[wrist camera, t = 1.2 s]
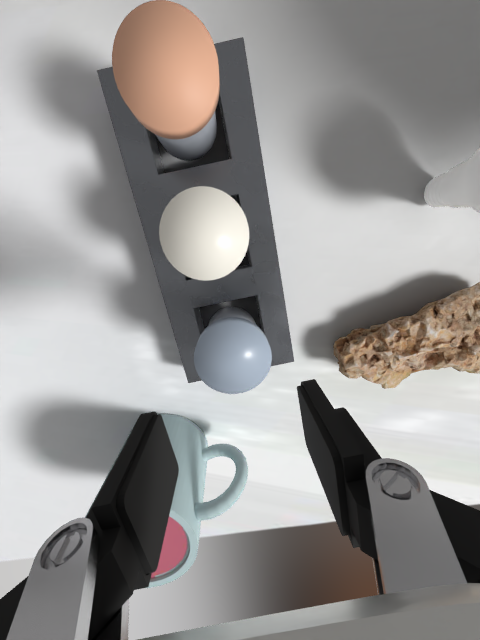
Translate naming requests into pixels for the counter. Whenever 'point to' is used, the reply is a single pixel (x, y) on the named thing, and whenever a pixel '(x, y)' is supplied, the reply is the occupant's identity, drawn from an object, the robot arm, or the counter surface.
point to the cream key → (204, 233)
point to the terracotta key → (169, 76)
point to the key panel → (228, 176)
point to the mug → (192, 496)
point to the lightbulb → (456, 186)
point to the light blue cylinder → (232, 352)
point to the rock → (416, 342)
